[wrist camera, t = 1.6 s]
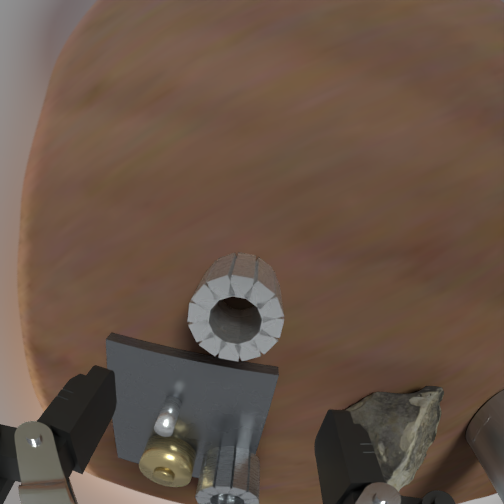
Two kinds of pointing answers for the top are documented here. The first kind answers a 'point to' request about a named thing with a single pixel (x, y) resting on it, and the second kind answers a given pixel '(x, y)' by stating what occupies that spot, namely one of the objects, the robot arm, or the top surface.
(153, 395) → the carrier
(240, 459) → the grey hollow pipe
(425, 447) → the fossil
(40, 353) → the top surface
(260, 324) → the planet gear
